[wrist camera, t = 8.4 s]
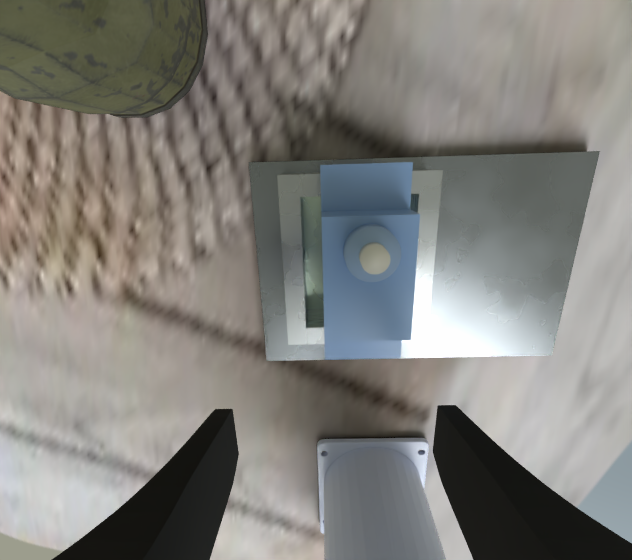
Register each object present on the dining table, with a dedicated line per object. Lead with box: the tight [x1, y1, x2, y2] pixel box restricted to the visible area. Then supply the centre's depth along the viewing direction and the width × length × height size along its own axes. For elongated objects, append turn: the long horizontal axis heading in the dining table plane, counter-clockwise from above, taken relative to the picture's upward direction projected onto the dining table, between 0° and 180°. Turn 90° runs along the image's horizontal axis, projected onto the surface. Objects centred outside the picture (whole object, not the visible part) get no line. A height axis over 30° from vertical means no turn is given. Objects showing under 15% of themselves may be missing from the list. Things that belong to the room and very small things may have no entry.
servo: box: [320, 162, 420, 360], centre depth 15 cm, size 9×4×7 cm, turn 2°
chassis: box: [249, 151, 600, 361], centre depth 18 cm, size 12×18×3 cm, turn 92°
